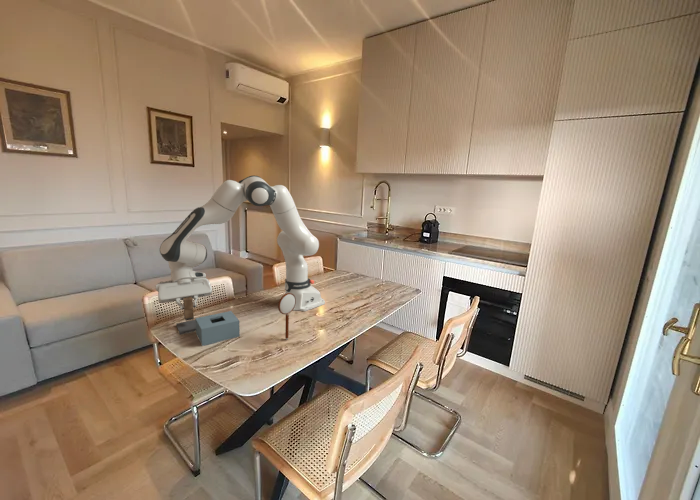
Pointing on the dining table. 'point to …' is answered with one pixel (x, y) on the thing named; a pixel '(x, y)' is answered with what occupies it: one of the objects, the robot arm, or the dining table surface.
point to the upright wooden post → (188, 308)
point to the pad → (186, 326)
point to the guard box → (217, 327)
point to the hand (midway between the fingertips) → (188, 307)
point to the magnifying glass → (287, 308)
